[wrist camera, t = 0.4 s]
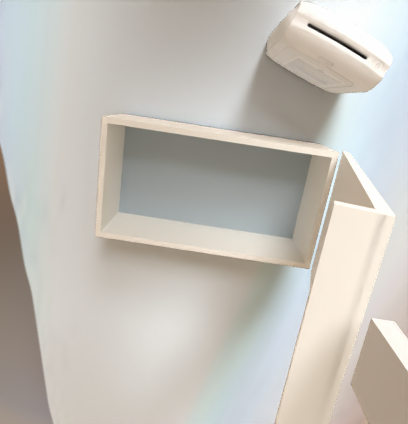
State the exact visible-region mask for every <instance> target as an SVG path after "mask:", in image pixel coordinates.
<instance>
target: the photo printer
mask: <svg viewBox="0 0 408 424" xmlns="http://www.w3.org/2000/svg"><path fill="white" fill-rule="evenodd" d="M266 54H267V55H268V56H269V57H270V58H271V59H272V60H273V61H275V62H276V63H278V64H279V65H281V66H283V67H284V68H286V69H287V70H289V71H291V72H292V73H294V74H296V75H298V76H299V77H301V78H303V79H305V80H306V81H308V82H310V83H312V84H313V85H315V86H317V87H319V88H321V89H323V90H325V91H328V92H331V93H334V94H338V93H357V92H368V91H369V90H371V89H372V88H374V87H375V86H376V85H377V84H378V83H379V82H380V81H381V80H382V79H383V76H384V74H385V72H386V71H387V70H388V68H389V67H390V65H391V63H392V55H391V54H390V52H389V51H388V50H387V49H386V48H385V47H384V46H383V45H382V44H381V43H380V42H379V41H377V40H376V39H375V38H373V37H372V36H371V35H369V34H368V33H366V32H365V31H363V30H362V29H360V28H359V27H357V26H356V25H354V24H352V23H351V22H349V21H347V20H345V19H344V18H342V17H340V16H338V15H337V14H335V13H333V12H331V11H329V10H327V9H325V8H323V7H320V6H318V5H316V4H313V3H309V2H304V1H300V2H299V3H298V5H297V6H296V7H295V8H294V9H293V10H291V11H290V12H289V13H288V14H287V15H286V16H285V18H284V19H283V20H282V21H281V22H280V24H279V25H278V26H277V27H276V28H275V29H274V31H273V32H272V33H271V34H270V36H269V38H268V40H267V52H266Z"/></svg>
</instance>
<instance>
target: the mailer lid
mask: <svg viewBox="0 0 408 424" xmlns="http://www.w3.org/2000/svg"><path fill="white" fill-rule="evenodd" d="M395 220H396V216H395V215H394V213H393V212H392V211H391V209H390V208H389V206H388V205H387V204H386V202H385V201H384V200H383V198H382V197H381V195H380V194H379V193H378V191H377V190H376V189H375V187H374V186H373V184H372V183H371V182H370V180H369V179H368V177H367V176H366V175H365V173H364V172H363V171H362V169H361V168H360V166H359V165H358V164H357V162H356V161H355V160H354V158H353V157H352V155H351V154H350V153H349V152H345V151H343V153H342V157H341V160H340V164H339V168H338V172H337V176H336V179H335V183H334V187H333V191H332V194H331V198H330V202H329V206H328V210H327V213H326V217H325V221H324V225H323V229H322V232H321V236H320V240H319V244H318V248H317V251H316V255H315V259H314V263H313V266H312V270H311V281H310V292H309V296H308V300H307V304H306V307H305V311H304V315H303V319H302V322H301V326H300V330H299V334H298V337H297V341H296V345H295V348H294V352H293V356H292V360H291V363H290V367H289V371H288V375H287V378H286V382H285V386H284V390H283V393H282V397H281V401H280V405H279V408H278V412H277V416H276V419H275V423H274V424H329V421H330V418H331V415H332V412H333V409H334V406H335V403H336V400H337V397H338V394H339V391H340V388H341V384H342V381H343V378H344V375H345V372H346V369H347V366H348V363H349V360H350V357H351V354H352V351H353V348H354V345H355V342H356V339H357V336H358V333H359V330H360V326H361V323H362V320H363V317H364V314H365V311H366V308H367V305H368V302H369V299H370V296H371V293H372V290H373V287H374V284H375V281H376V278H377V275H378V272H379V269H380V265H381V262H382V259H383V256H384V253H385V250H386V247H387V244H388V241H389V238H390V235H391V232H392V229H393V226H394V223H395Z"/></svg>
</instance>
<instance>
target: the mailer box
mask: <svg viewBox="0 0 408 424" xmlns="http://www.w3.org/2000/svg"><path fill="white" fill-rule="evenodd" d="M338 156H339V152H337V151H334V150H332V149H330V148H327V147H325V146H323V145H321V144H318V143H312V142H305V141H299V140H292V139H286V138H279V137H273V136H266V135H260V134H253V133H247V132H240V131H234V130H227V129H221V128H214V127H208V126H201V125H195V124H188V123H182V122H175V121H169V120H162V119H156V118H149V117H143V116H136V115H130V114H123V113H122V114H115V115H107V116H102V124H101V141H100V158H99V176H98V193H97V210H96V227H95V236H96V237H103V238H109V239H116V240H123V241H129V242H136V243H142V244H149V245H155V246H162V247H168V248H175V249H181V250H188V251H194V252H201V253H207V254H214V255H221V256H227V257H234V258H240V259H247V260H253V261H260V262H266V263H273V264H279V265H286V266H292V267H299V268H305V269H309V267H310V263H311V260H312V256H313V252H314V248H315V244H316V240H317V237H318V233H319V229H320V225H321V221H322V218H323V214H324V210H325V206H326V202H327V198H328V195H329V191H330V187H331V183H332V179H333V175H334V172H335V168H336V164H337V160H338Z"/></svg>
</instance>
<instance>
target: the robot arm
mask: <svg viewBox="0 0 408 424" xmlns="http://www.w3.org/2000/svg"><path fill="white" fill-rule="evenodd" d="M351 386H352V388H353V390H354V392H355V394H356V397H357V399H358V401H359V403H360V405H361V408H362V410H363V412H364V414H365V416H366V419H367V421H368V423H369V424H408V339H407V337H406V336H405V335H404V334H403V332H402V331H401V330H400V328H399V327H398V326H397V325H396V323H395V322H394V321H388V320H380V319H373V318H371V321H370V324H369V327H368V331H367V334H366V337H365V340H364V343H363V346H362V349H361V352H360V356H359V359H358V362H357V365H356V368H355V371H354V374H353V378H352V381H351Z"/></svg>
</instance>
